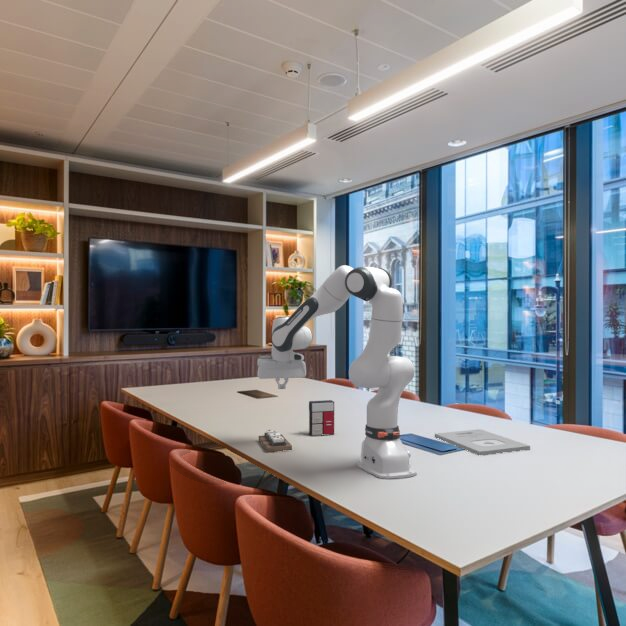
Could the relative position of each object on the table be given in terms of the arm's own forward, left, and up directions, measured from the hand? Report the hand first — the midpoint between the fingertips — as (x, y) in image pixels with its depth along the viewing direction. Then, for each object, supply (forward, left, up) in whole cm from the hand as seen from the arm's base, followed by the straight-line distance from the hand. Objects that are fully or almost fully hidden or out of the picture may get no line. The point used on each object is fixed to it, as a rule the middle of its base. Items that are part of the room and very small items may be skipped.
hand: (281, 388), depth 205 cm
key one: (0, +3, -20) cm, 20 cm away
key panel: (0, +3, -23) cm, 23 cm away
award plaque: (-20, -81, -24) cm, 87 cm away
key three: (-6, +3, -20) cm, 21 cm away
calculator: (+12, -21, -23) cm, 34 cm away
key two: (+6, +3, -20) cm, 21 cm away
